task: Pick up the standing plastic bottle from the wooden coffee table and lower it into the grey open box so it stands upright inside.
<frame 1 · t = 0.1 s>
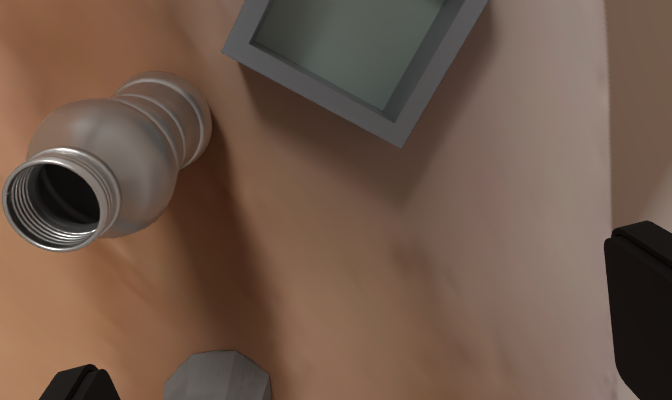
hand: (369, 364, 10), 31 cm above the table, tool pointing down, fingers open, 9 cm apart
coffeepot: (208, 389, 47), on the table
plastic bottle: (171, 115, 39), on the table
grey open box: (357, 2, 38), on the table
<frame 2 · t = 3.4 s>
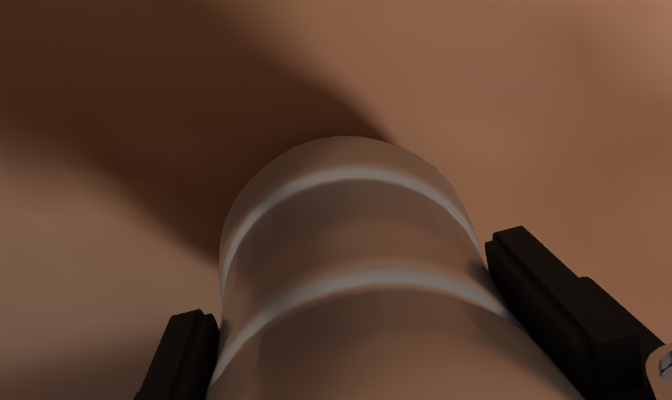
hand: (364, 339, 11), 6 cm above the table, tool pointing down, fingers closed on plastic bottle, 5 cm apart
plastic bottle: (339, 221, 17), on the table, touching gripper
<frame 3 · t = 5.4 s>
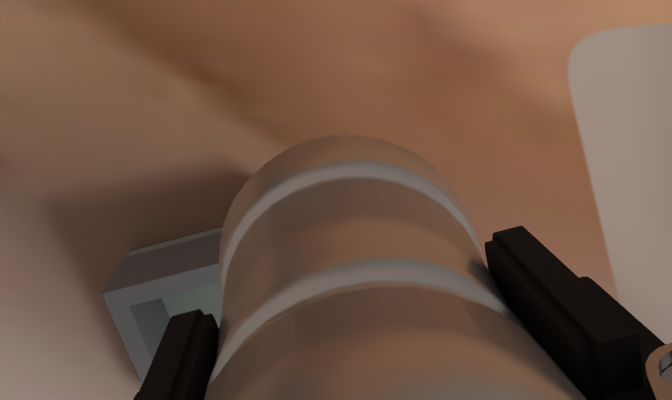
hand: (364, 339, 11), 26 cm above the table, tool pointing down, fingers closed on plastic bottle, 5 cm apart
plastic bottle: (339, 219, 17), point 19 cm above the table, touching gripper
grey open box: (247, 311, 40), on the table
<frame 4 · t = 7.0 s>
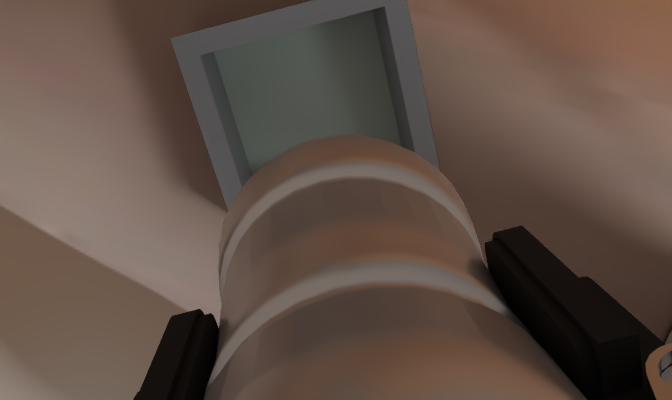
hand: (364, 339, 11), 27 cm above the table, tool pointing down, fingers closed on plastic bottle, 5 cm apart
plastic bottle: (339, 219, 17), point 20 cm above the table, touching gripper
grey open box: (314, 113, 36), on the table
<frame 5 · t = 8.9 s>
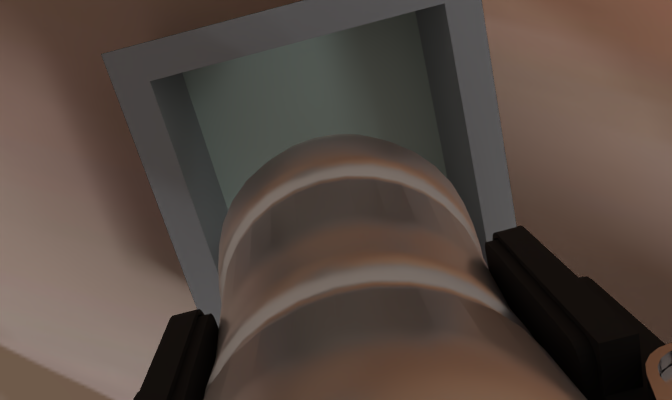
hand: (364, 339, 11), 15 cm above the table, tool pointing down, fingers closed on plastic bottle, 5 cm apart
plastic bottle: (339, 219, 17), point 9 cm above the table, touching gripper
grey open box: (328, 157, 26), on the table
when the fingers open (9 cm above the table, at t = 10.7 s): plastic bottle drops 1 cm, resting on grey open box.
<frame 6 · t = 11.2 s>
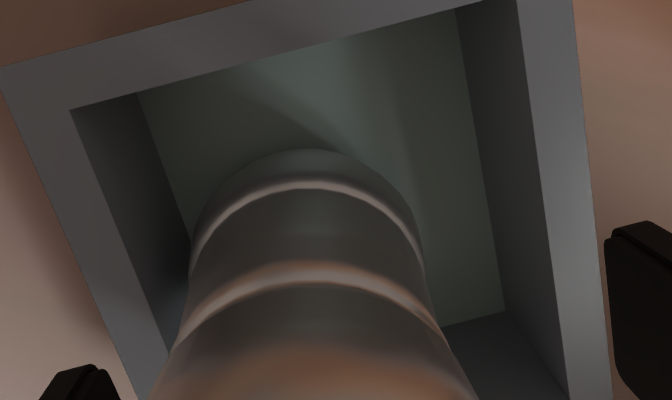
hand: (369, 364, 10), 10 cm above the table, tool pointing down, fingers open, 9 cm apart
plastic bottle: (305, 225, 19), point 1 cm above the table, touching grey open box
grey open box: (334, 198, 19), on the table
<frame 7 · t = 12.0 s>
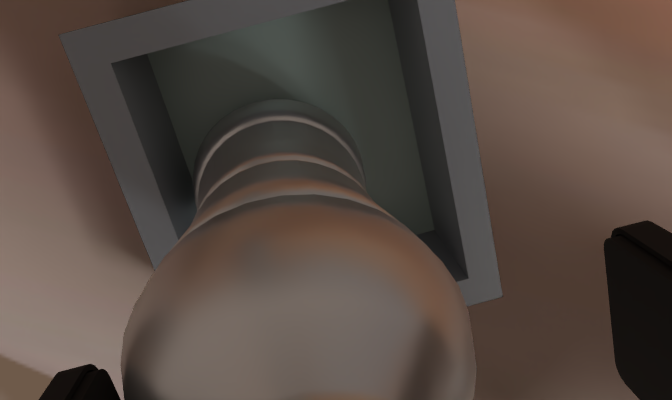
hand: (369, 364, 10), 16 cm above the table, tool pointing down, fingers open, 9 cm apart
plastic bottle: (277, 163, 24), point 1 cm above the table, touching grey open box, gripper
grey open box: (300, 142, 25), on the table
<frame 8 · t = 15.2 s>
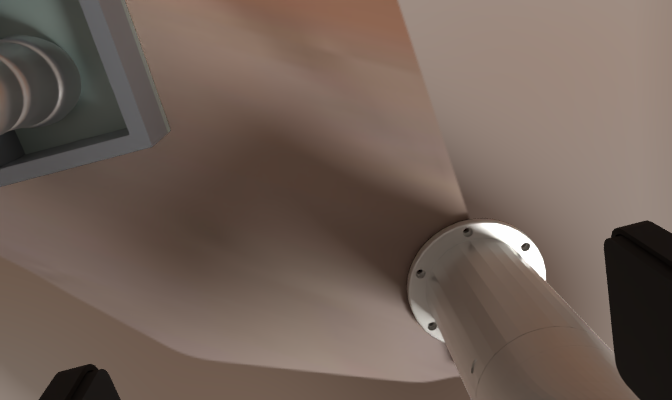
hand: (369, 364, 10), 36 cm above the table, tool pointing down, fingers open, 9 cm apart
plastic bottle: (45, 78, 42), point 1 cm above the table, touching grey open box
grey open box: (63, 67, 43), on the table
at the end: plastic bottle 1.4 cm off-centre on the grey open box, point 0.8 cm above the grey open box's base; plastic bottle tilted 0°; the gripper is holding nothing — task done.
